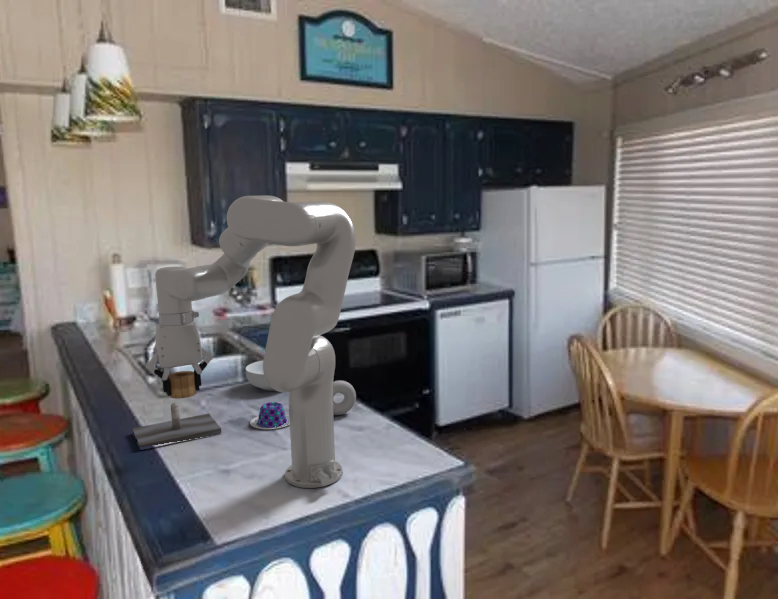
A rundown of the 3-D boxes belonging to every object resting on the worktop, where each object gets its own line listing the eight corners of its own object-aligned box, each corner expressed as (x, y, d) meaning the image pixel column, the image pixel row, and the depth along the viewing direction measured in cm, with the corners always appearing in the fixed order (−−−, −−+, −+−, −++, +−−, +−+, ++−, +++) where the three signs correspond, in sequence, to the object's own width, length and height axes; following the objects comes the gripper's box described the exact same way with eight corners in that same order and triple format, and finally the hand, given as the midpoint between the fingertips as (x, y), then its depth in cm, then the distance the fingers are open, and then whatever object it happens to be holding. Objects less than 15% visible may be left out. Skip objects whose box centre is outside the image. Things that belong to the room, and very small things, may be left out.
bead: (198, 395, 147) (196, 375, 146) (172, 400, 144) (170, 379, 143) (192, 389, 152) (191, 369, 151) (167, 393, 149) (165, 373, 148)
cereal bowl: (246, 397, 189) (244, 375, 187) (247, 381, 205) (245, 361, 204) (301, 392, 192) (300, 370, 191) (298, 377, 208) (297, 357, 207)
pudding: (250, 417, 172) (249, 399, 171) (293, 413, 174) (292, 396, 174) (249, 433, 161) (248, 414, 160) (295, 429, 163) (295, 410, 162)
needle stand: (221, 433, 160) (219, 402, 159) (140, 451, 150) (137, 418, 149) (209, 418, 171) (207, 389, 170) (132, 433, 161) (129, 403, 160)
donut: (323, 419, 169) (322, 384, 167) (320, 415, 172) (319, 381, 170) (358, 414, 172) (357, 380, 170) (354, 410, 175) (353, 376, 174)
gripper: (209, 312, 152) (214, 381, 155) (135, 321, 144) (142, 394, 147) (216, 316, 146) (222, 389, 149) (139, 326, 137) (147, 403, 140)
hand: (182, 391), depth 148 cm, fingers closed on bead, 6 cm apart
